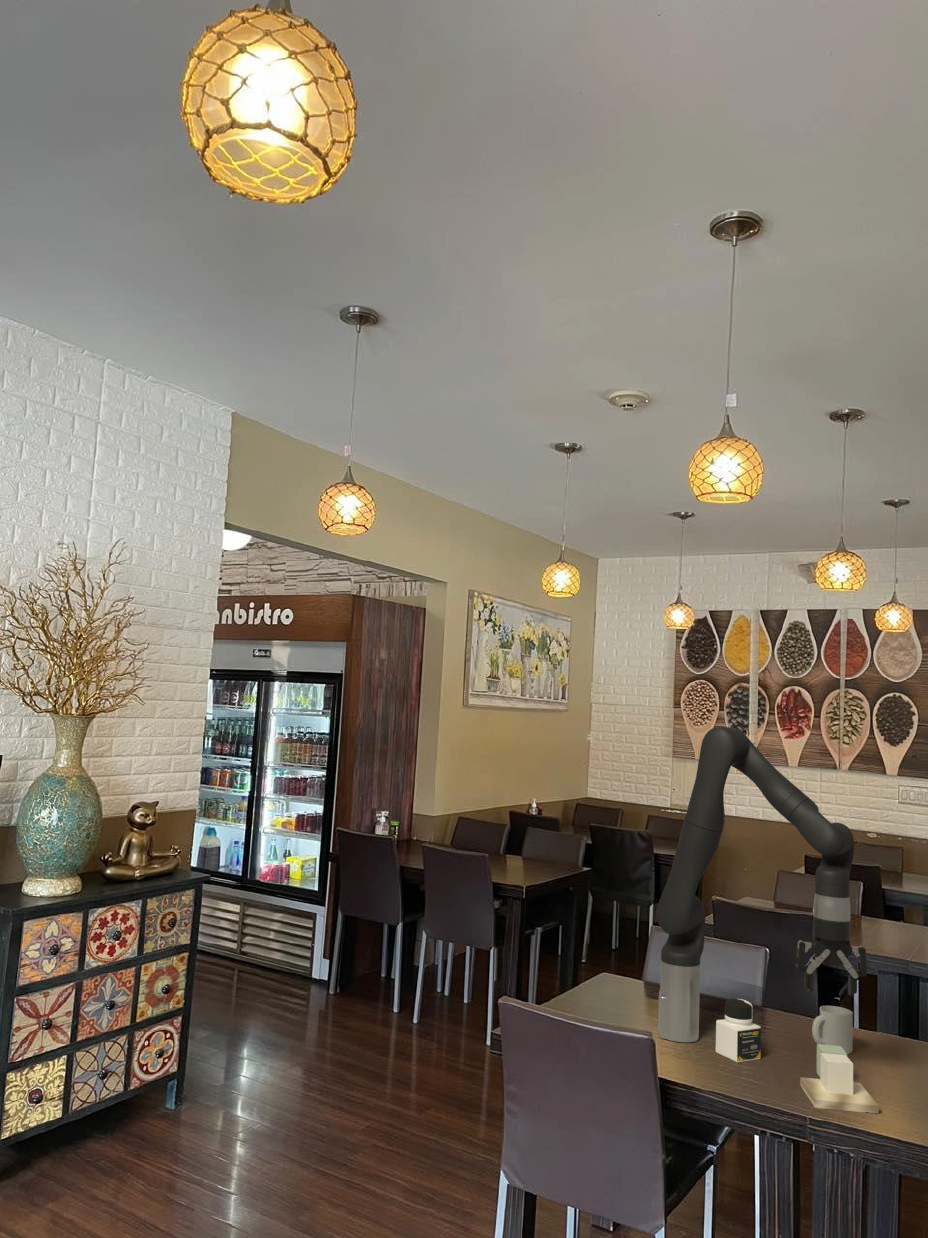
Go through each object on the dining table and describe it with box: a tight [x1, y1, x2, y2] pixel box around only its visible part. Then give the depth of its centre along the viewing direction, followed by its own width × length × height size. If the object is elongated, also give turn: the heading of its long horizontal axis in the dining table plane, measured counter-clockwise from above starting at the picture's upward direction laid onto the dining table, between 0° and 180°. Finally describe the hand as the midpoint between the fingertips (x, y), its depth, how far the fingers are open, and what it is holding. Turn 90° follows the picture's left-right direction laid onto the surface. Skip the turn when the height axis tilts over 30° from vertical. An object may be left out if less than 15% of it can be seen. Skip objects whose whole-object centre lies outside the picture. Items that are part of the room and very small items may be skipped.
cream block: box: [819, 1053, 854, 1095], centre depth 189 cm, size 5×5×6 cm
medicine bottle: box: [715, 998, 762, 1063], centre depth 211 cm, size 7×7×12 cm
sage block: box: [816, 1043, 848, 1078], centre depth 200 cm, size 5×5×6 cm
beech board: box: [799, 1076, 880, 1114], centre depth 188 cm, size 12×12×2 cm
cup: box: [811, 1005, 854, 1056], centre depth 218 cm, size 7×10×9 cm
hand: (830, 993), depth 200 cm, fingers open, 8 cm apart
